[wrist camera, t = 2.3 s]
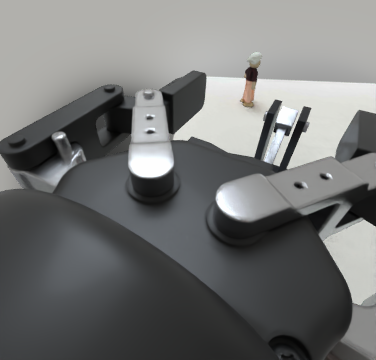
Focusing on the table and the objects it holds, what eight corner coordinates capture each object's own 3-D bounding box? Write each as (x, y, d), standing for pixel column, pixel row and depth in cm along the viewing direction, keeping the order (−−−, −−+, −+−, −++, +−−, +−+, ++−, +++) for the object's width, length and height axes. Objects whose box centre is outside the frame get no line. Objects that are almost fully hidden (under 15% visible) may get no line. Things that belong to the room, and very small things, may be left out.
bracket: (278, 213, 38) (315, 136, 27) (232, 194, 41) (249, 118, 30) (290, 176, 44) (325, 102, 34) (250, 162, 47) (270, 89, 36)
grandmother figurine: (259, 107, 63) (272, 56, 54) (246, 109, 62) (257, 58, 53) (245, 95, 68) (255, 47, 59) (234, 96, 67) (242, 48, 58)
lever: (277, 198, 30) (281, 192, 28) (237, 182, 32) (237, 175, 30) (306, 124, 34) (311, 113, 32) (268, 114, 36) (270, 103, 33)
